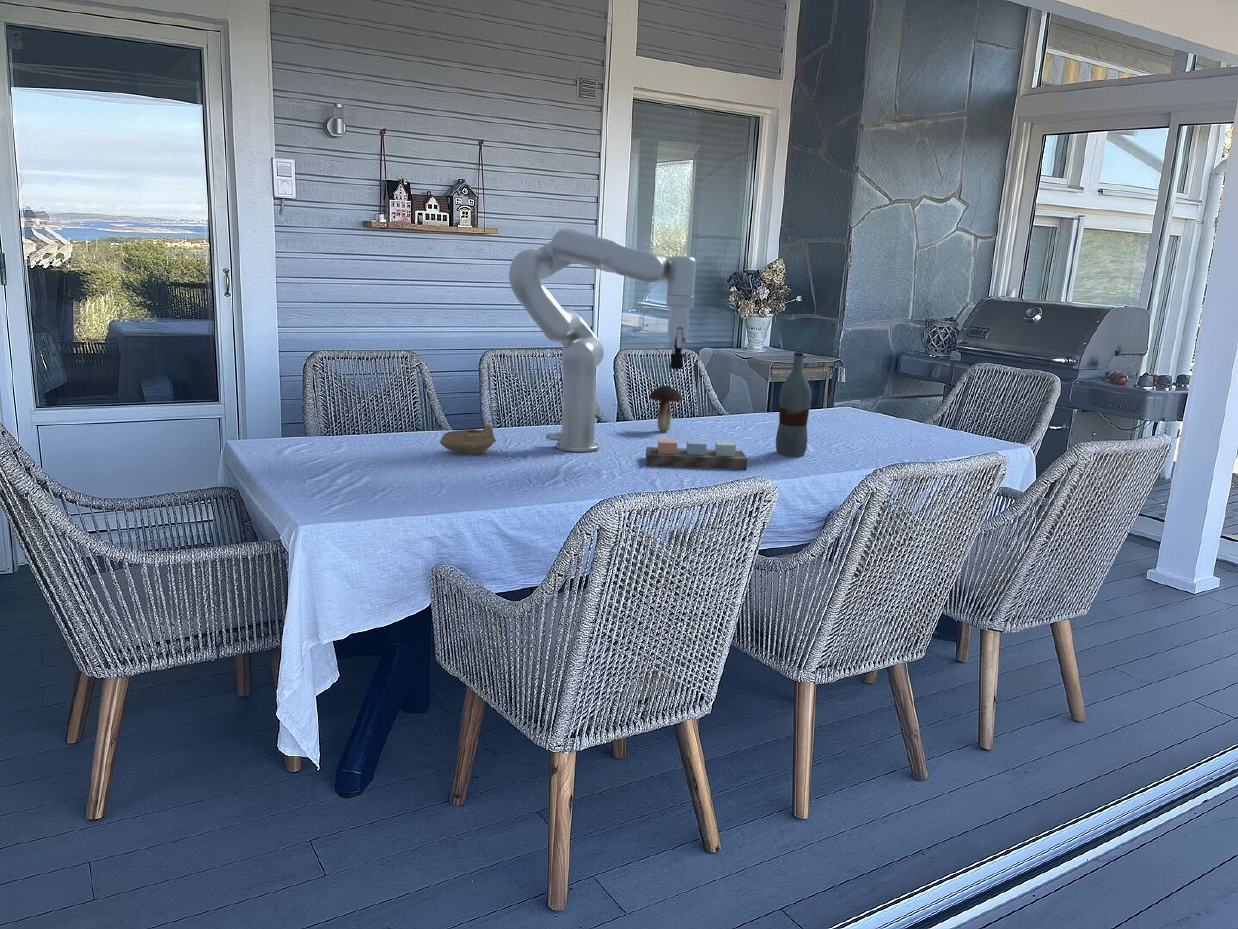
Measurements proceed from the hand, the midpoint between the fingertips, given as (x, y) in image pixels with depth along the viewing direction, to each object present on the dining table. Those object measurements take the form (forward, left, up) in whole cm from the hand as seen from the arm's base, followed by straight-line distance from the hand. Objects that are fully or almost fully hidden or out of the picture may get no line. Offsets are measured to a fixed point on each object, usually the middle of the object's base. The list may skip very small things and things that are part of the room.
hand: (676, 368), depth 270 cm
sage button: (+14, -9, -24) cm, 29 cm away
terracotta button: (-2, -9, -24) cm, 25 cm away
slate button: (+6, -9, -24) cm, 26 cm away
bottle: (+36, +10, -25) cm, 45 cm away
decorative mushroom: (0, +38, -25) cm, 46 cm away
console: (+6, -9, -25) cm, 27 cm away
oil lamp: (-57, -7, -25) cm, 63 cm away
